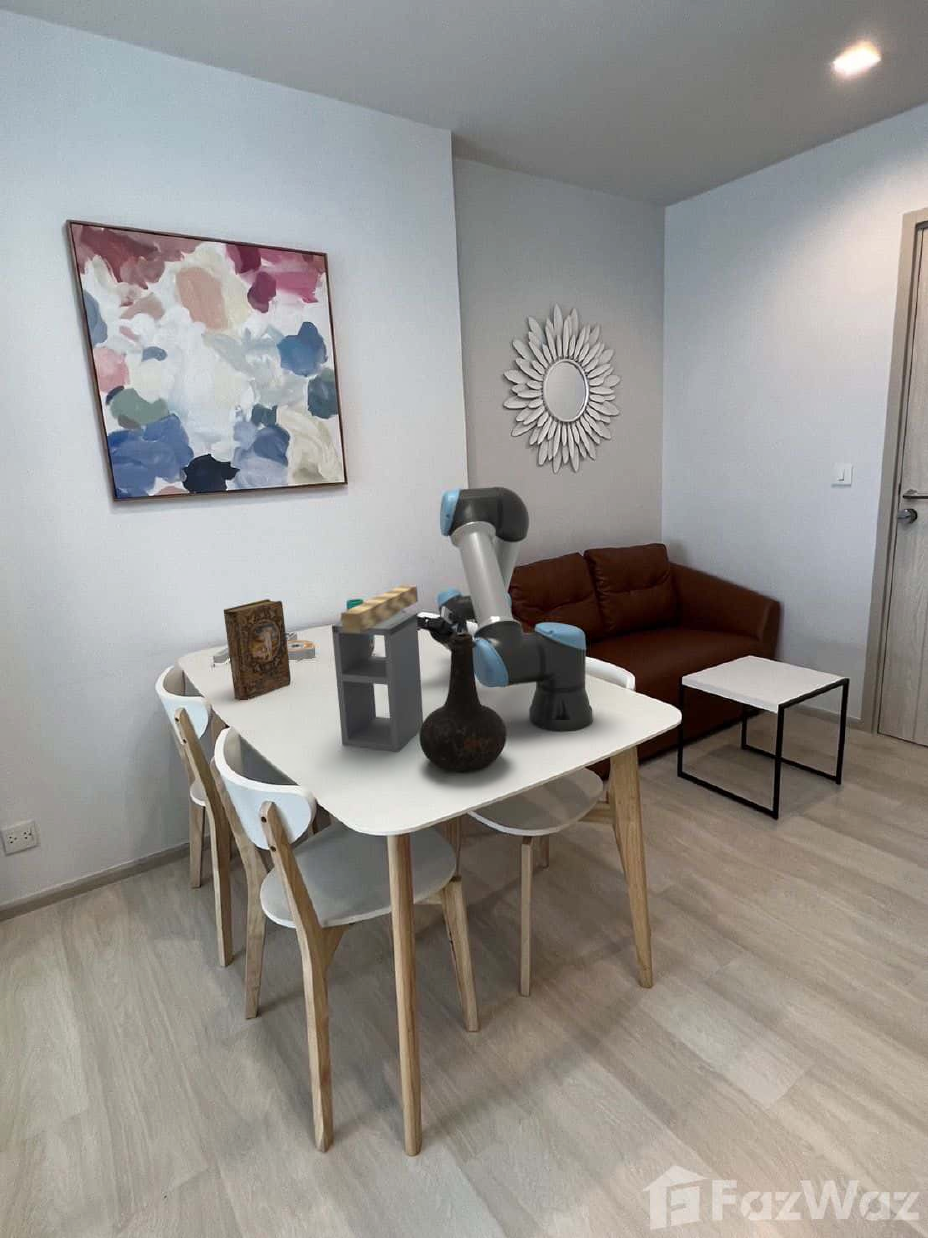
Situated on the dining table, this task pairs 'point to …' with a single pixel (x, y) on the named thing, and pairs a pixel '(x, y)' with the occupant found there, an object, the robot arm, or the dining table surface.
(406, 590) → the wooden bar
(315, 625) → the dining table surface
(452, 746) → the glass bottle
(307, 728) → the dining table surface
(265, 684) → the book
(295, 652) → the sign
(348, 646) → the shelf
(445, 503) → the robot arm
